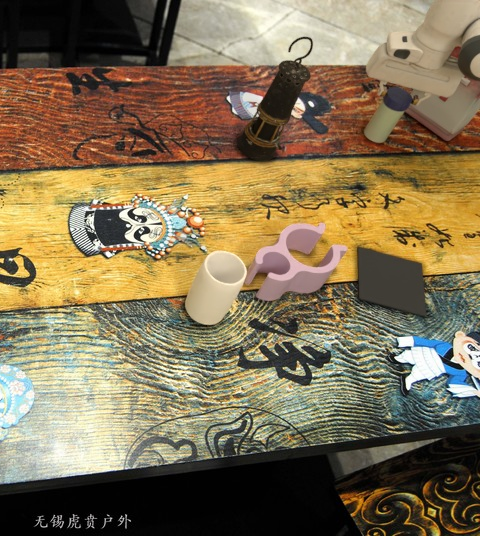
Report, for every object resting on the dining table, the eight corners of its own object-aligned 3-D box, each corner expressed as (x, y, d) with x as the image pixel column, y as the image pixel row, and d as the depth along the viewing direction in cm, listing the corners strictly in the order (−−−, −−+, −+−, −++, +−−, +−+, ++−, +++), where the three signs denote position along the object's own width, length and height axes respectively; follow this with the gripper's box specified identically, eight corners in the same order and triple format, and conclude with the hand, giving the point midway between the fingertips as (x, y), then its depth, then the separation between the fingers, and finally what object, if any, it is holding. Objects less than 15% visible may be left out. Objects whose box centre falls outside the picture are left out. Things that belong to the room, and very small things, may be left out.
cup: (180, 324, 139) (201, 281, 127) (182, 289, 144) (203, 244, 133) (224, 333, 139) (249, 291, 128) (225, 297, 144) (248, 253, 133)
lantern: (277, 163, 169) (332, 57, 146) (239, 158, 168) (288, 51, 145) (272, 135, 175) (324, 29, 151) (235, 131, 174) (281, 23, 150)
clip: (270, 313, 143) (283, 293, 138) (231, 267, 149) (242, 246, 143) (341, 277, 152) (356, 257, 146) (302, 234, 157) (315, 213, 152)
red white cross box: (396, 111, 188) (462, 9, 164) (417, 97, 193) (484, -4, 169) (444, 145, 182) (519, 45, 158) (464, 130, 187) (540, 30, 163)
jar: (386, 129, 183) (410, 92, 173) (386, 145, 179) (411, 107, 170) (363, 123, 183) (386, 86, 173) (363, 139, 179) (387, 101, 170)
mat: (420, 264, 157) (421, 263, 157) (425, 317, 149) (426, 316, 148) (357, 247, 157) (358, 246, 157) (358, 299, 149) (359, 298, 149)
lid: (407, 98, 175) (411, 90, 173) (408, 114, 171) (413, 107, 169) (382, 91, 175) (386, 84, 173) (383, 107, 171) (387, 100, 169)
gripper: (472, 54, 163) (439, 101, 174) (382, 30, 163) (355, 79, 174) (475, 71, 159) (441, 119, 170) (384, 47, 159) (355, 96, 170)
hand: (397, 99), depth 172 cm, fingers open, 7 cm apart
